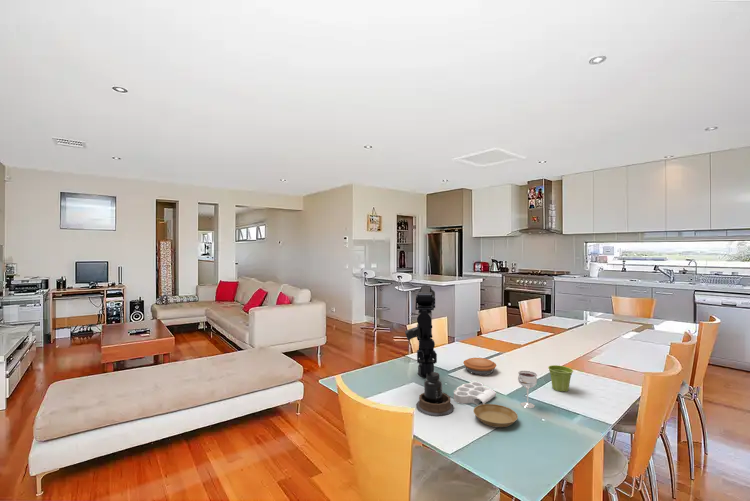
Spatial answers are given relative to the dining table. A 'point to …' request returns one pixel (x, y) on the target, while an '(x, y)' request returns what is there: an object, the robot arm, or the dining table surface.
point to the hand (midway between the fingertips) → (425, 358)
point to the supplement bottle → (433, 388)
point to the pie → (479, 365)
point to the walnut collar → (435, 406)
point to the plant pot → (560, 377)
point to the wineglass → (527, 384)
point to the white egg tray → (473, 393)
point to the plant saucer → (495, 415)
